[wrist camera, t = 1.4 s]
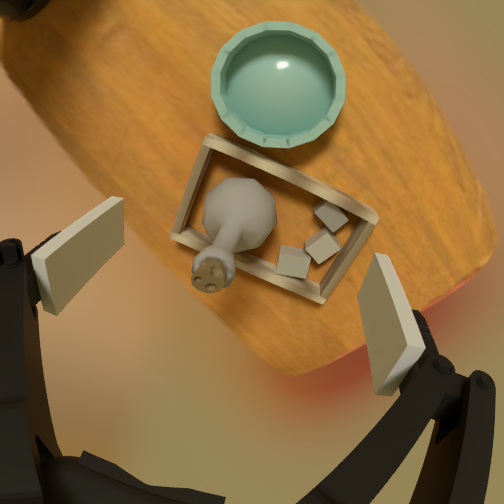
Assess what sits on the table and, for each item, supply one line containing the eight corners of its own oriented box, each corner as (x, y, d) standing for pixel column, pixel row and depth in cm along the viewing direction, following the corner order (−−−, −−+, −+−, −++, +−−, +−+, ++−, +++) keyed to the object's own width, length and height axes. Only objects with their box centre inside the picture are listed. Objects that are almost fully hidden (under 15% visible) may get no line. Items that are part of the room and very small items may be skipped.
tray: (177, 228, 43) (169, 237, 41) (211, 132, 37) (205, 135, 34) (321, 291, 45) (322, 304, 42) (374, 209, 38) (379, 218, 36)
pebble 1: (313, 206, 40) (314, 212, 38) (328, 193, 38) (330, 199, 37) (331, 225, 40) (333, 232, 38) (346, 213, 39) (348, 220, 37)
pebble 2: (318, 255, 43) (318, 264, 41) (304, 240, 42) (305, 249, 40) (338, 240, 41) (340, 248, 39) (325, 224, 40) (327, 232, 38)
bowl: (201, 115, 36) (192, 118, 33) (246, 11, 29) (241, 4, 26) (309, 162, 37) (310, 169, 34) (360, 60, 30) (366, 57, 27)
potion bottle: (239, 156, 38) (195, 209, 22) (293, 205, 40) (287, 288, 24) (195, 205, 41) (135, 281, 26) (246, 248, 43) (216, 343, 28)
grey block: (277, 263, 44) (275, 273, 42) (280, 244, 43) (279, 253, 40) (305, 268, 44) (306, 278, 42) (310, 249, 42) (310, 258, 40)
